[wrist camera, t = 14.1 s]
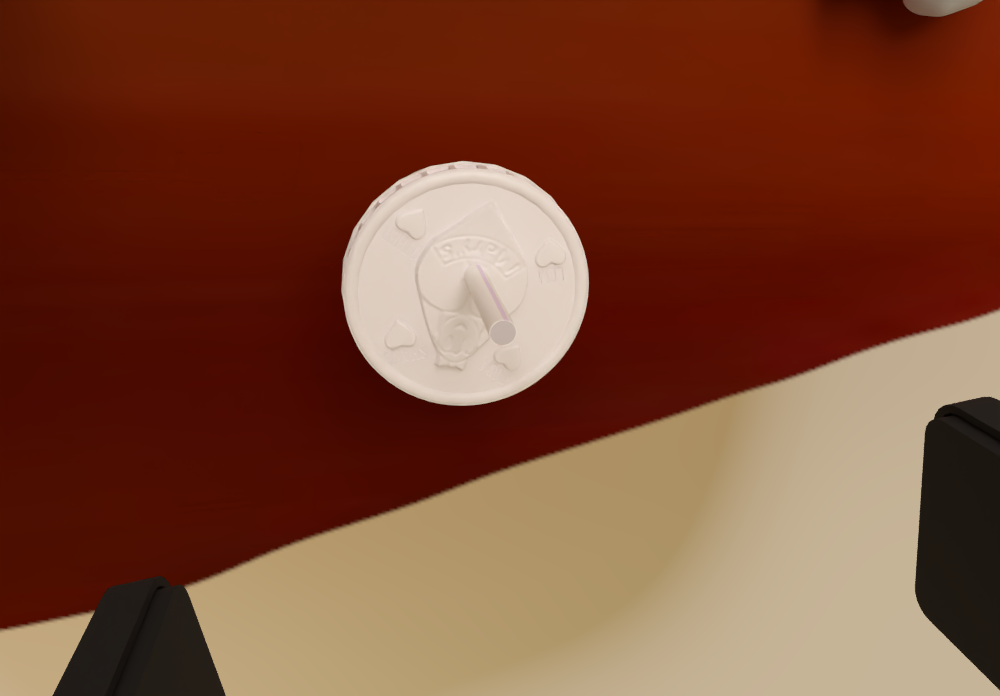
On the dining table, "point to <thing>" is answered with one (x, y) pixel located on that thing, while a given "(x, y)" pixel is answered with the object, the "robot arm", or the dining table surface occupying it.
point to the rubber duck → (938, 6)
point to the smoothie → (464, 283)
